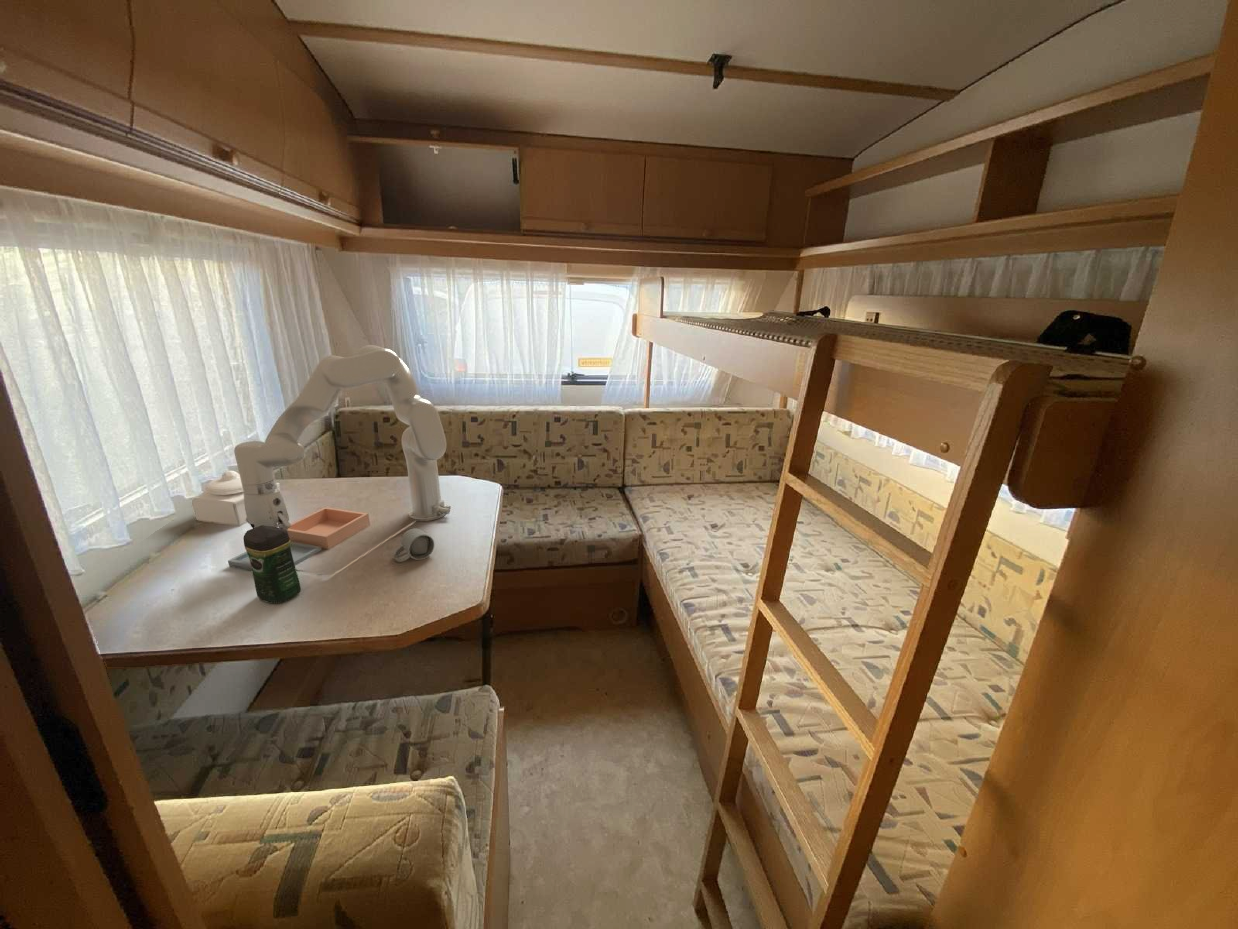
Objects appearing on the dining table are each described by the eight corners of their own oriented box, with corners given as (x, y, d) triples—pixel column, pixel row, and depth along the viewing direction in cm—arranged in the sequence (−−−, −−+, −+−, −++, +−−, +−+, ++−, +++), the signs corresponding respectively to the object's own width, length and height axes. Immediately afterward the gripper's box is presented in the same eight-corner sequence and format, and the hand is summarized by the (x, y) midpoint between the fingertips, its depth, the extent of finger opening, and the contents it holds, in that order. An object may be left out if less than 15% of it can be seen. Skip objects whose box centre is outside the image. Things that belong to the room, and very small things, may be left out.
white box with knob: (243, 500, 183) (233, 459, 178) (285, 505, 180) (275, 464, 175) (195, 521, 167) (183, 476, 162) (240, 527, 164) (229, 481, 158)
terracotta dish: (370, 527, 164) (368, 513, 163) (329, 551, 149) (326, 536, 147) (327, 520, 169) (325, 507, 167) (283, 543, 153) (280, 529, 152)
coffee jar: (307, 591, 130) (293, 526, 124) (277, 608, 123) (261, 540, 117) (282, 582, 133) (267, 519, 127) (251, 598, 126) (234, 532, 120)
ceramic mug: (425, 545, 154) (421, 522, 151) (436, 555, 148) (433, 531, 146) (389, 556, 147) (385, 533, 145) (400, 567, 142) (396, 543, 139)
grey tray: (322, 552, 148) (321, 546, 148) (280, 577, 136) (279, 570, 135) (274, 544, 153) (272, 538, 152) (229, 567, 140) (227, 560, 139)
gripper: (296, 485, 138) (308, 544, 144) (248, 478, 142) (261, 536, 148) (272, 495, 131) (285, 557, 137) (222, 487, 135) (237, 547, 141)
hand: (273, 545), depth 143 cm, fingers closed on ochre ball, 4 cm apart
